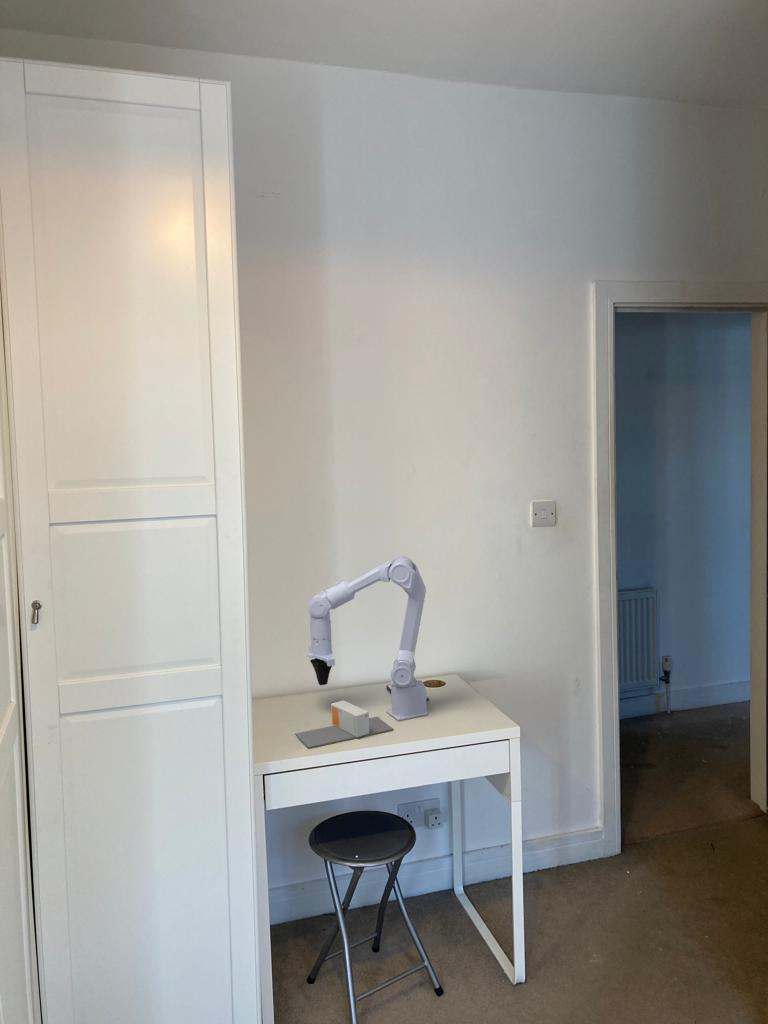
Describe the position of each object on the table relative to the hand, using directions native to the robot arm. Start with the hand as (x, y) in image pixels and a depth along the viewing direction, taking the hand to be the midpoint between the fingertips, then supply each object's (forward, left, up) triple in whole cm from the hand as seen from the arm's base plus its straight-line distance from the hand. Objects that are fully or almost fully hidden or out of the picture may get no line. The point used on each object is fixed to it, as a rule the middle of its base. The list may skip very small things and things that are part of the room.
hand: (322, 684), depth 219 cm
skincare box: (0, +9, -5) cm, 11 cm away
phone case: (-27, -2, -9) cm, 29 cm away
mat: (+1, +16, -9) cm, 18 cm away
